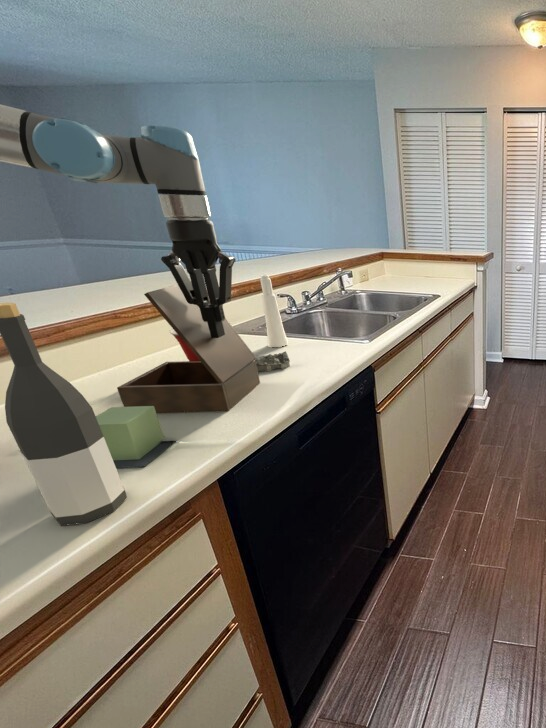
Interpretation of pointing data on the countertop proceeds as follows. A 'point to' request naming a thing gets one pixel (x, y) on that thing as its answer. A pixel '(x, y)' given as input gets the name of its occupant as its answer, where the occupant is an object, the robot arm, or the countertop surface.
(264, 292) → the white tapered tower
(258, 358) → the grey rock
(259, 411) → the countertop surface
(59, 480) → the wine bottle
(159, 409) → the chest
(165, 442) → the mat
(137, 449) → the cube
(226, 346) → the lid
